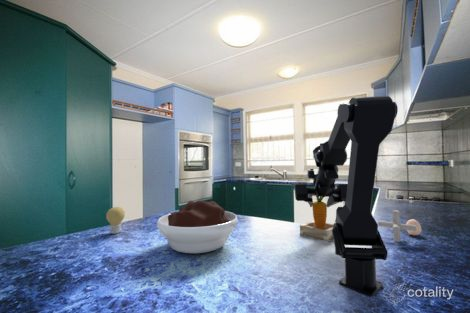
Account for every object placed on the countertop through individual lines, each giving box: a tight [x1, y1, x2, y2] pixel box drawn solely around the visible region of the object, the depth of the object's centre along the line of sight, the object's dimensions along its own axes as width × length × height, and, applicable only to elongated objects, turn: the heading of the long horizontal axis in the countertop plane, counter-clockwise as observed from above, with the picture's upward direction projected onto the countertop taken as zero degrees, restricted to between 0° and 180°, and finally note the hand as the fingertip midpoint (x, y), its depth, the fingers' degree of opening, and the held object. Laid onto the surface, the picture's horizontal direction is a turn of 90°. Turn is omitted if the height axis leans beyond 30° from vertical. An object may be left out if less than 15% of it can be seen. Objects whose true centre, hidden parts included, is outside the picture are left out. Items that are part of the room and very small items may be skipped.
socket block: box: [299, 220, 334, 243], centre depth 80 cm, size 10×10×4 cm
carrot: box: [311, 196, 328, 229], centre depth 80 cm, size 5×5×15 cm
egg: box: [405, 218, 422, 236], centre depth 79 cm, size 4×4×6 cm
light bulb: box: [105, 206, 126, 235], centre depth 86 cm, size 6×6×10 cm
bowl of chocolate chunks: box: [156, 199, 239, 254], centre depth 70 cm, size 25×25×15 cm
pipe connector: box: [377, 209, 416, 243], centre depth 73 cm, size 10×10×10 cm
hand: (318, 206), depth 82 cm, fingers open, 6 cm apart
